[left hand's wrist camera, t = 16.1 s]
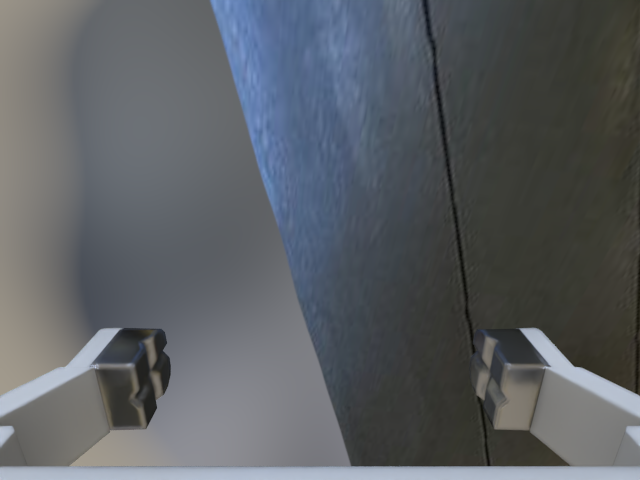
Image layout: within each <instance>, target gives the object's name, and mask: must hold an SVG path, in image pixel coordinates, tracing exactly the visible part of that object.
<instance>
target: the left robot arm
mask: <svg viewBox="0 0 640 480" xmlns="http://www.w3.org/2000/svg"><path fill="white" fill-rule="evenodd" d="M166 344H167V341H166V336H165V332H164V331H163V330H162V329H139V328H124V329H123V328H104V329H101V330H99V331H98V332H97V334H96V335H95V336H94V337H93V338H92V339H91V340H90V341H89V342H88V343H87V344H86V345H85V347H84V348H83V349H82V350H81V351H80V352H79V353H78V354H77V355H76V356H75V357H74V359H73V360H72V361H71V362H70V363H69V364H68V365H67V366H66V367H59V368H57V369H55V370H53V371H50V372H48V373H46V374H44V375H42V376H40V377H38V378H36V379H34V380H32V381H30V382H28V383H26V384H24V385H22V386H19V387H17V388H15V389H13V390H11V391H9V392H7V393H5V394H3V395H1V396H0V480H640V396H639V395H637V394H635V393H633V392H631V391H629V390H627V389H625V388H622V387H620V386H618V385H616V384H614V383H612V382H610V381H608V380H606V379H604V378H602V377H600V376H598V375H596V374H594V373H592V372H590V371H587V370H585V369H583V368H581V367H574V366H573V365H572V364H571V363H570V362H569V361H568V360H567V359H566V357H565V356H564V355H563V354H562V353H561V352H560V351H559V350H558V349H557V348H556V347H555V345H554V344H553V343H552V342H551V341H550V340H549V339H548V338H547V337H546V336H545V335H544V333H543V332H542V331H541V330H539V329H537V328H516V329H480V330H477V331H476V333H475V335H474V340H473V344H474V346H475V347H476V349H477V352H476V353H475V354H474V355H473V356H472V357H471V359H470V367H469V371H470V380H471V383H472V387H473V389H474V391H475V393H476V395H478V396H479V397H480V398H482V399H483V400H484V405H483V409H484V411H485V413H486V415H487V417H488V418H489V420H490V422H491V424H492V426H493V428H494V429H505V430H530V432H531V433H532V434H533V435H534V436H535V437H537V438H538V439H539V440H540V441H542V442H543V443H544V444H545V445H546V446H548V447H549V448H550V449H551V450H552V451H554V452H555V453H556V454H557V455H559V456H560V457H561V458H562V459H563V460H565V461H566V462H567V463H568V464H569V465H571V466H377V467H319V466H317V467H316V466H314V467H313V466H91V467H90V466H84V467H83V466H82V467H81V466H69V465H71V464H72V463H73V462H74V461H76V460H77V459H78V458H79V457H80V456H82V455H83V454H84V453H85V452H86V451H88V450H89V449H90V448H91V447H93V446H94V445H95V444H96V443H97V442H99V441H100V440H101V439H102V438H103V437H105V436H106V435H107V434H108V433H110V430H134V429H146V428H147V426H148V424H149V422H150V420H151V418H152V417H153V415H154V413H155V411H156V409H157V405H156V400H157V399H158V398H160V397H161V396H162V395H164V393H165V391H166V389H167V387H168V383H169V379H170V370H171V365H170V358H169V357H168V356H167V355H166V354H165V353H164V352H163V349H164V347H165V346H166Z"/></svg>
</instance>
